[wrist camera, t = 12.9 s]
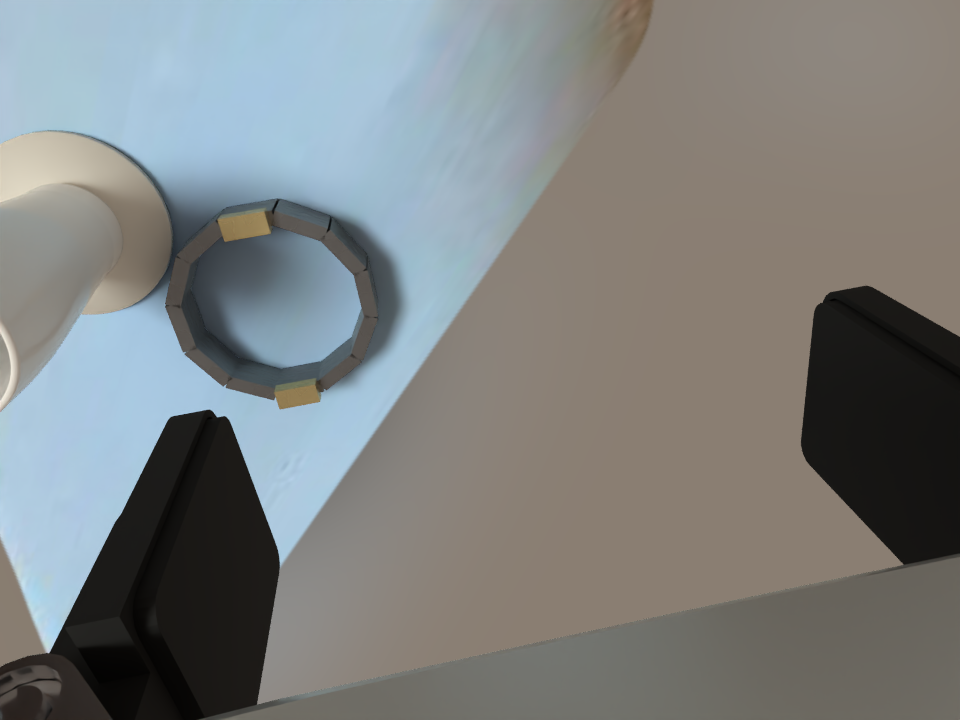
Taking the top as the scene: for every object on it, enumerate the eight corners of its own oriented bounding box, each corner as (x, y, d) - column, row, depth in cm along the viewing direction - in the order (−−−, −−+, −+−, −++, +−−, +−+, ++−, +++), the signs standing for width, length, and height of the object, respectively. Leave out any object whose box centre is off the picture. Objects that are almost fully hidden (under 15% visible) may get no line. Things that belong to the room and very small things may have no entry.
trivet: (-65, 148, 35) (-72, 150, 34) (133, 115, 35) (130, 117, 35) (24, 324, 40) (19, 328, 39) (198, 293, 40) (195, 297, 40)
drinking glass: (15, 144, 35) (-199, 228, 21) (155, 197, 37) (38, 304, 24) (-8, 262, 37) (-214, 403, 24) (124, 306, 39) (2, 457, 26)
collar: (149, 216, 38) (130, 234, 35) (351, 182, 38) (349, 196, 35) (216, 395, 43) (205, 423, 40) (392, 362, 44) (393, 387, 41)
